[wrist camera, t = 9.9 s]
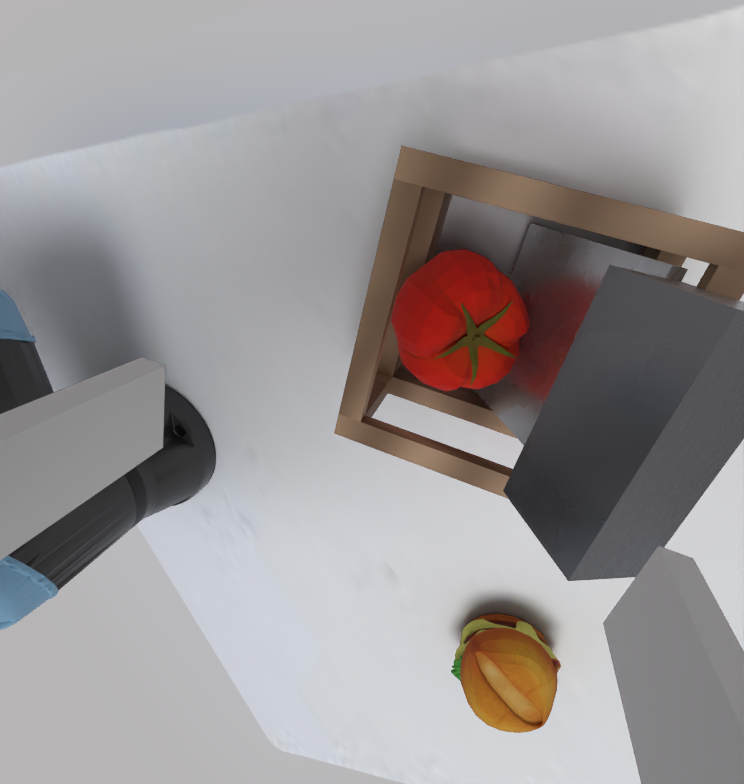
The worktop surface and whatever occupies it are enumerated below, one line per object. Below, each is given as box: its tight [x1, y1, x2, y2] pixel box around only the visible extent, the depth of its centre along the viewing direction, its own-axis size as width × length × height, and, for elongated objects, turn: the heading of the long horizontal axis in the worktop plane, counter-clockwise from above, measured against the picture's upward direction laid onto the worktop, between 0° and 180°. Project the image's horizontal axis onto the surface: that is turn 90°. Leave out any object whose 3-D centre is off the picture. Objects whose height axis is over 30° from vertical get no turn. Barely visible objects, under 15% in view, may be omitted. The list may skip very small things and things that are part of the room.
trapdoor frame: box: [334, 146, 744, 498], centre depth 29 cm, size 17×17×12 cm
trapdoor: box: [474, 223, 744, 581], centre depth 25 cm, size 19×13×6 cm
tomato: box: [391, 249, 530, 391], centre depth 30 cm, size 9×9×8 cm
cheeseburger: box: [451, 614, 561, 733], centre depth 44 cm, size 10×11×10 cm
